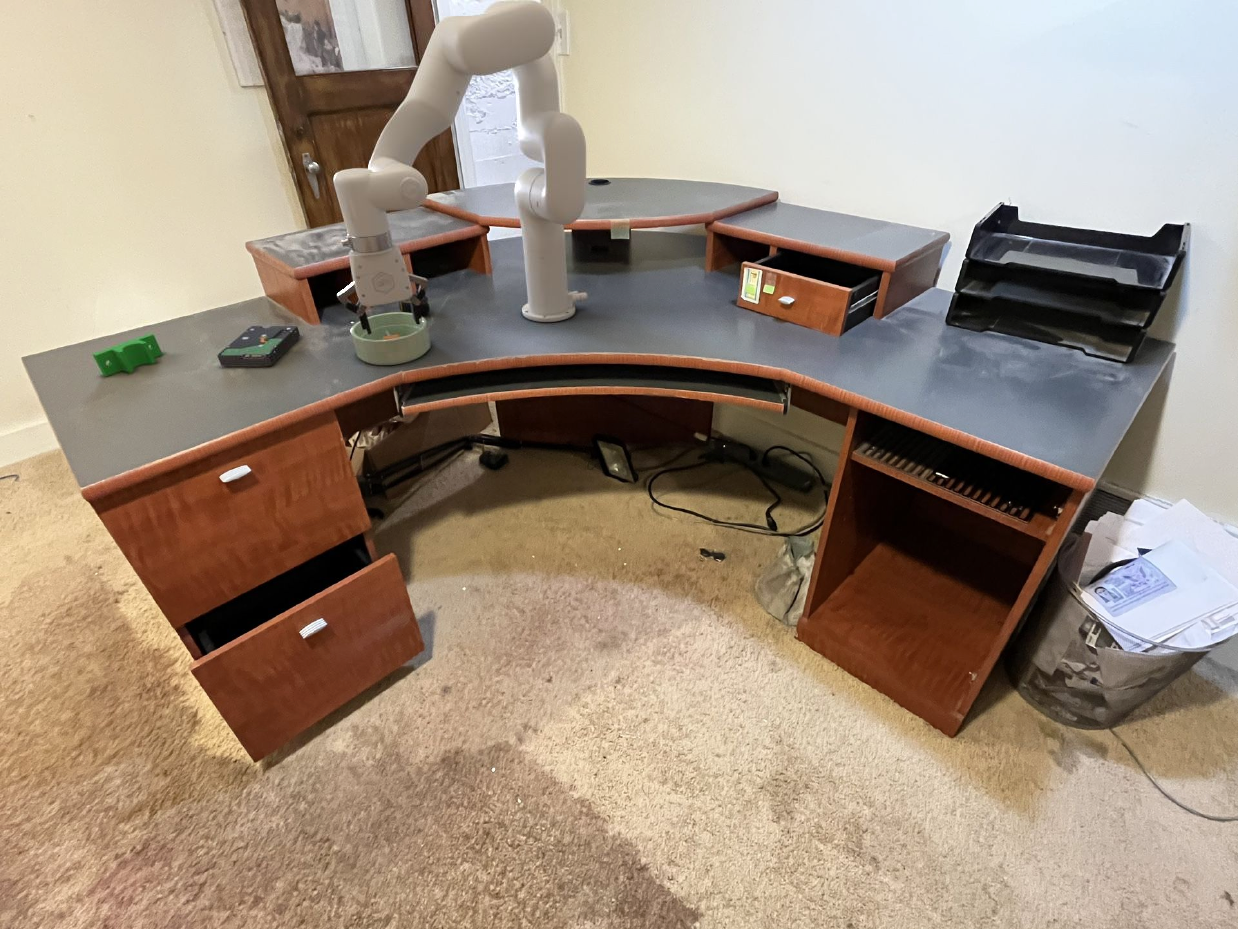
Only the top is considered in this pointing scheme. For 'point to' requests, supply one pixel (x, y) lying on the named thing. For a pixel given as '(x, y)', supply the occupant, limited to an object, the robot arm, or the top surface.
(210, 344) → the top surface
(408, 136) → the robot arm
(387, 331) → the orange block with pin
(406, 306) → the tape measure
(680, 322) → the top surface
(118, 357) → the pipe clamp
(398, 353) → the bowl
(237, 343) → the disk drive
